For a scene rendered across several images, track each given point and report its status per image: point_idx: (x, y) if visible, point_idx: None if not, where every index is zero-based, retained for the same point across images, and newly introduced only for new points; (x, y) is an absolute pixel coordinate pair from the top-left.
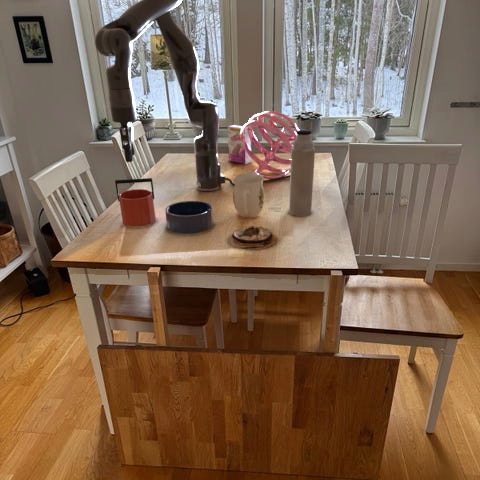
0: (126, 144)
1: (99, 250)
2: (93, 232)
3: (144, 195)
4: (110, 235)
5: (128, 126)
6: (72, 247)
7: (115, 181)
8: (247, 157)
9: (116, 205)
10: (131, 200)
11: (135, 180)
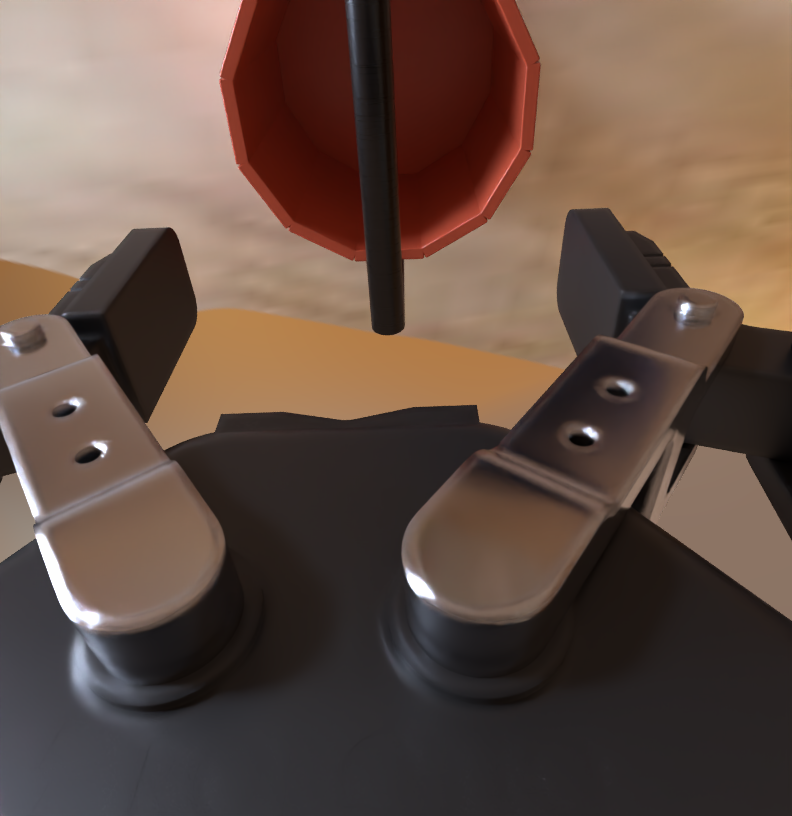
0: (148, 417)
1: (776, 255)
2: (507, 323)
3: (254, 35)
4: None
5: (662, 775)
6: None
7: (401, 327)
8: None
9: (64, 269)
10: (532, 137)
11: (392, 133)
